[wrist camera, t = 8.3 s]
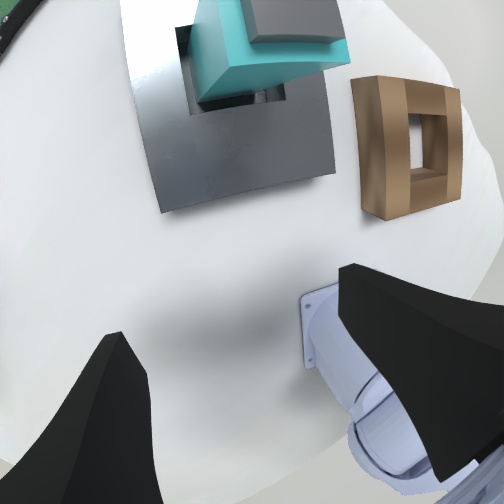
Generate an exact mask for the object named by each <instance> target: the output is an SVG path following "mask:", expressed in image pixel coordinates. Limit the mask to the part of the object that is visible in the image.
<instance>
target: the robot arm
mask: <svg viewBox="0 0 504 504" xmlns="http://www.w3.org/2000/svg"><path fill="white" fill-rule="evenodd" d="M307 304H308V305H307ZM306 305H307V306H306ZM301 314H302V328H303V344H304V362H305V367H306V369H311V368H313V367H316V368H317V369H318V371H319V373H320V374H321V376H322V377H323V379H324V381H325V382H326V384H327V386H328V387H329V389H330V390H331V392H332V394H333V395H334V397H335V399H336V400H337V402H338V403H339V405H340V406H341V407H342V408H343V409H344V410H345V411H346V412H348V413H349V414H350V416H351V418H352V419H353V422H352V423H351V424H350V425H349V427H348V444H349V448H350V450H351V453H352V455H353V456H354V458H355V460H356V461H357V463H358V464H359V465H360V467H361V468H362V469H363V470H364V471H365V472H366V473H368V474H369V475H370V476H372V477H374V478H376V479H379V480H381V481H383V482H385V483H387V484H388V485H390V486H391V487H392V488H394V489H395V490H396V491H399V492H400V493H401V494H402V495H414V494H422V493H427V492H433V491H439V490H446V491H447V492H448V493H447V494H446V495H445V496H443V497H442V498H441V499H440V500H438V501H437V502H436V503H434V504H504V306H503V305H494V304H488V303H481V302H475V301H470V300H466V299H462V298H457V297H453V296H449V295H446V294H442V293H439V292H436V291H433V290H430V289H426V288H423V287H420V286H418V285H415V284H412V283H409V282H406V281H404V280H401V279H398V278H395V277H393V276H390V275H387V274H385V273H382V272H380V271H379V270H377V269H375V270H374V269H371V268H368V267H365V266H362V265H359V264H355V263H353V264H350V265H347V266H344V267H341V268H339V283H337V284H334V285H331V286H329V287H326V288H323V289H320V290H317V291H314V292H311V293H308V294H306V295H304V296H303V297H302V298H301ZM0 504H164V503H163V500H162V497H161V493H160V489H159V485H158V481H157V477H156V472H155V466H154V459H153V446H152V426H151V400H150V392H149V385H148V378H147V373H146V371H145V369H144V368H143V366H142V365H141V363H140V362H139V360H138V358H137V357H136V355H135V354H134V352H133V350H132V349H131V347H130V345H129V344H128V342H127V340H126V338H125V337H124V335H123V333H122V331H120V332H116V333H112V334H108V335H105V336H104V337H103V339H102V340H101V342H100V343H99V345H98V346H97V348H96V349H95V351H94V353H93V354H92V356H91V357H90V359H89V361H88V362H87V364H86V366H85V367H84V369H83V371H82V372H81V374H80V376H79V377H78V379H77V381H76V383H75V384H74V386H73V387H72V389H71V391H70V392H69V394H68V395H67V397H66V398H65V400H64V402H63V403H62V405H61V407H60V408H59V410H58V411H57V413H56V414H55V416H54V417H53V419H52V420H51V422H50V423H49V424H48V426H47V427H46V429H45V430H44V431H43V433H42V434H41V435H40V437H39V438H38V439H37V440H36V442H35V443H34V444H33V445H32V446H31V448H30V449H29V450H28V451H27V452H26V454H25V455H24V456H23V457H22V458H21V460H20V461H19V462H18V463H17V464H16V465H15V466H14V467H13V468H12V469H11V470H10V471H9V472H8V473H7V474H6V475H5V476H4V477H3V478H2V479H1V480H0Z"/></svg>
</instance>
